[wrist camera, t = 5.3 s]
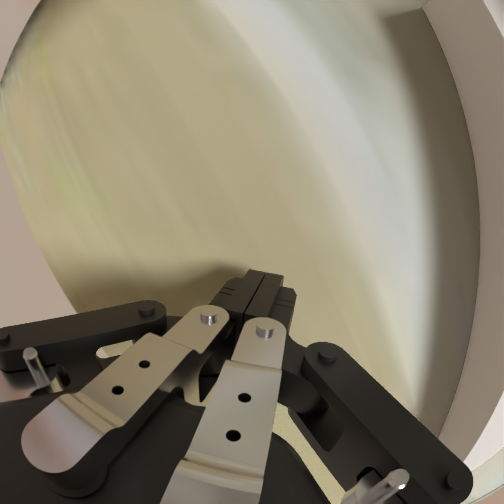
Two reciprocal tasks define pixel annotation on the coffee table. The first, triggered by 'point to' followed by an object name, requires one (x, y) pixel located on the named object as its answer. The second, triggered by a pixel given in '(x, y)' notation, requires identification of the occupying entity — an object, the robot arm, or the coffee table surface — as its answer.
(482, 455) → the decorative molding
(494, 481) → the coffee table surface
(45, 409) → the robot arm
